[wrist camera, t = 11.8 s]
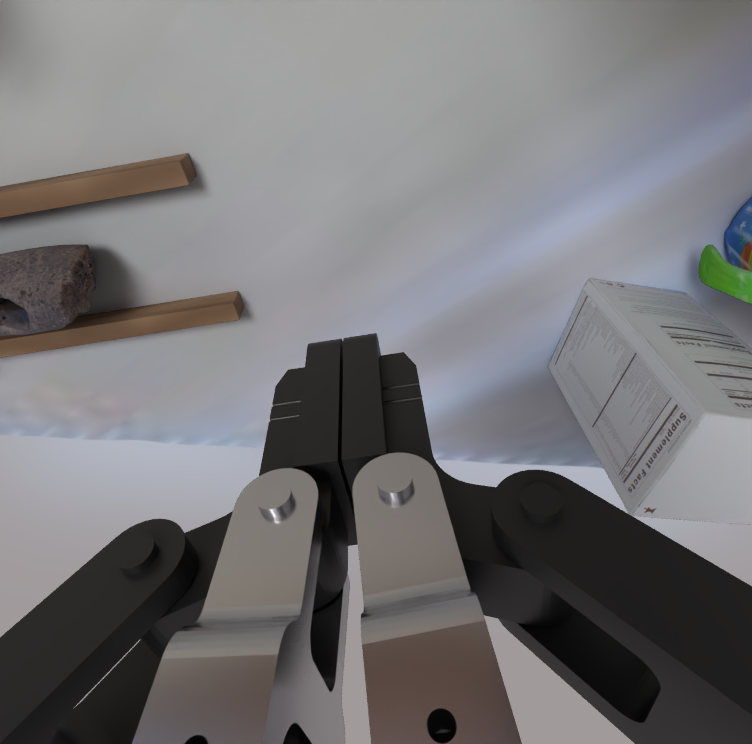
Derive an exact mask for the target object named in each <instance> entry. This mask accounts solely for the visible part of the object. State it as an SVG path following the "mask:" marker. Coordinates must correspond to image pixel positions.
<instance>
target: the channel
mask: <svg viewBox="0 0 752 744" xmlns="http://www.w3.org/2000/svg"><path fill="white" fill-rule="evenodd" d="M195 177H196V174H195V171H194V169H193V166H192V163H191V160H190V158H189V155H188V153H187V154H182V155H176V156H170V157H165V158H159V159H153V160H148V161H142V162H137V163H131V164H125V165H120V166H114V167H109V168H103V169H97V170H92V171H86V172H80V173H75V174H69V175H64V176H58V177H52V178H47V179H41V180H36V181H30V182H24V183H19V184H13V185H7V186H2V187H0V218H2V217H8V216H13V215H19V214H25V213H30V212H36V211H42V210H48V209H53V208H59V207H65V206H71V205H76V204H82V203H88V202H94V201H99V200H105V199H111V198H117V197H122V196H128V195H134V194H139V193H145V192H151V191H157V190H162V189H168V188H174V187H180V186H185V185H189V184H190V183H191V182H192V181H193V179H194V178H195ZM243 308H244V306H243V304H242V301H241V298H240V295H239V293H238V291H235V292H229V293H223V294H216V295H210V296H204V297H198V298H191V299H185V300H179V301H173V302H167V303H160V304H154V305H148V306H142V307H135V308H129V309H123V310H117V311H111V312H104V313H98V314H92V315H86V316H80V317H76V318H75V320H74V321H73V322H72V323H69V324H67V325H66V326H65V327H64V328H61V329H57V330H51V331H45V332H39V333H33V334H26V335H10V336H0V357H7V356H13V355H19V354H26V353H32V352H38V351H45V350H51V349H58V348H64V347H70V346H77V345H83V344H89V343H96V342H102V341H108V340H115V339H121V338H127V337H134V336H140V335H146V334H153V333H159V332H165V331H172V330H178V329H185V328H191V327H197V326H204V325H210V324H216V323H223V322H229V321H235V320H240V317H241V314H242V311H243Z"/></svg>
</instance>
